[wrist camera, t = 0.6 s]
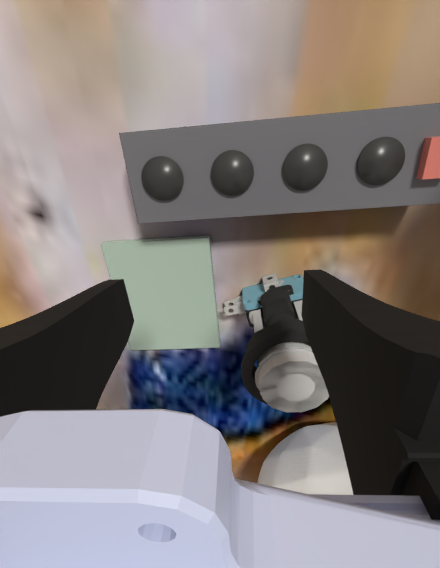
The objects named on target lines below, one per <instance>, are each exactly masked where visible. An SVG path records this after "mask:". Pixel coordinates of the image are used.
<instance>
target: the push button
mask: <svg viewBox="0 0 440 568" xmlns="http://www.w3.org/2000/svg"><path fill="white" fill-rule="evenodd" d="M269 277H272V279H270V280H267V278H269ZM262 279H263V283H261V284H257V285H253V286H248V287H245V288H243V290H242V296H238V297H236V298H237V299H232V300H228V301H225V302H224V304H225V307H224V311H225V314H226V316H229V315H234V314H239V313H240V315H242V314H246V315H247V319H248V322H249V325H250V327H254V334H253V336H252V337H251V339H250V340H249V342H248V343H247V345H246V353H245V354H244V357H243V359H242V364H241V376H242V381H243V383H244V386H245V387H246V389H247V390H248V391H249V393H250V394H251V395H252V396H254V397H255V398H256V399H258V400H259V401H261V402H263V403H266V404H268V405H269V406H271V407H272V408H275V409H278V410H281V411H283V412H303V411H307V410H310V409H313V408H316V407H318V406H319V405H320V404H321V403H323V402H324V401H325V400H327V399H328V397H329V394H328V391H327V388H326V385H325V382H324V379H323V377H322V374H321V372H320V369H319V367H318V364H317V362H316V359H315V357H314V354H313V352H312V349H311V347H310V344H309V342H308V339H307V336H306V333H305V329H304V324H303V320H302V315H301V314H302V297H303V281H304V280H303V277H302V275H294V276H291V277H287V278H283V279H277V275H276V274H271V275H267V276H264V277H262ZM230 302H232V303H233V304H234V305H232V306H229V303H230ZM229 309H233V310H234V311H233V312H229V311H228V310H229ZM296 318H298V319H296ZM264 325H265V326H266V327H265V328H264ZM256 360H257V365H258V368H256V367H255V366H254V363H255V361H256Z"/></svg>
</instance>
